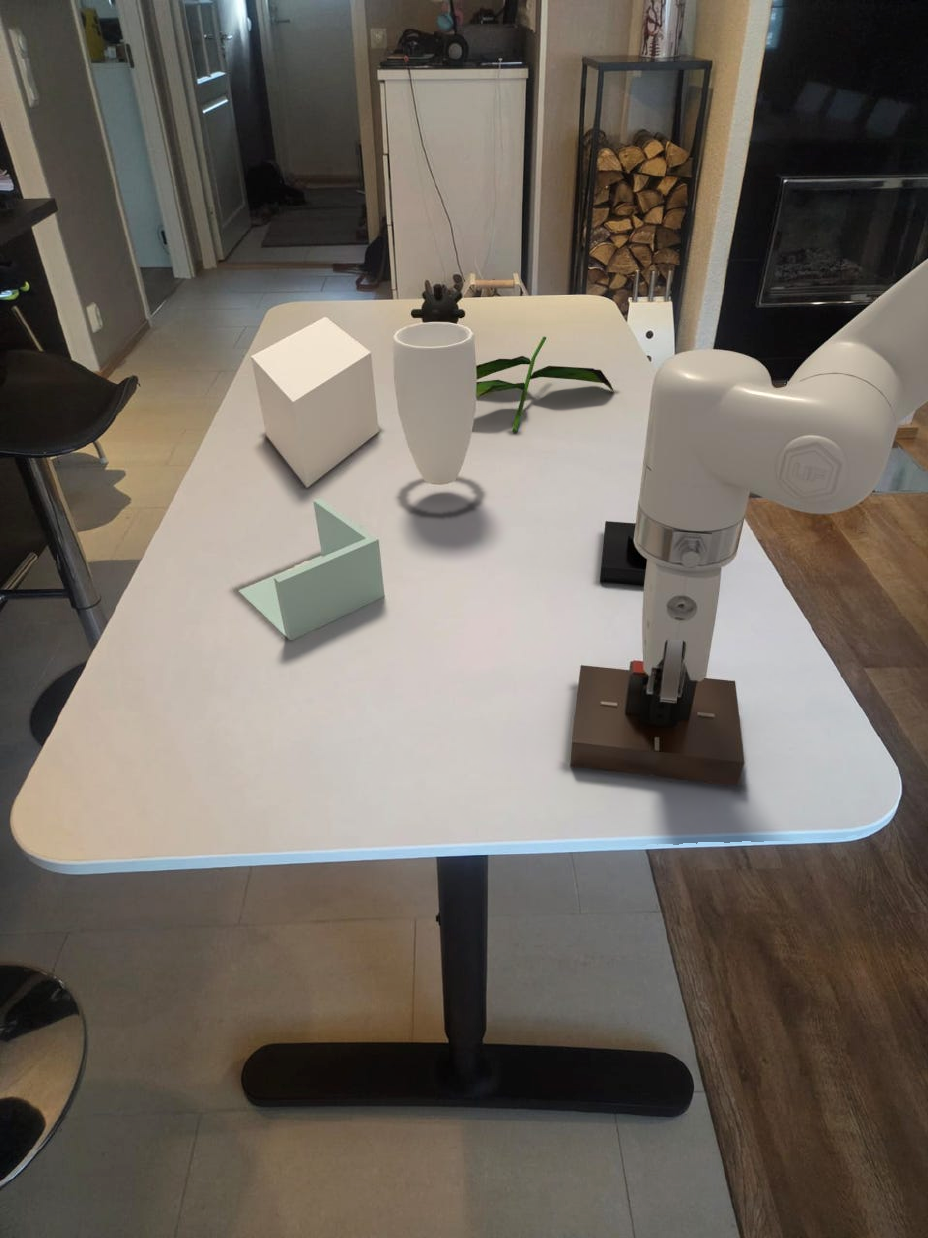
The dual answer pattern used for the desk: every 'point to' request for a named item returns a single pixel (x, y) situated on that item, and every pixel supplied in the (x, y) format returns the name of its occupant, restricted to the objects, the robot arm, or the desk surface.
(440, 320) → the toy ball
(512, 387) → the plant
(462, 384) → the cup
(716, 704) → the panel
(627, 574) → the button block
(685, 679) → the handle
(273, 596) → the right angle wall
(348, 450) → the block
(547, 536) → the desk surface
